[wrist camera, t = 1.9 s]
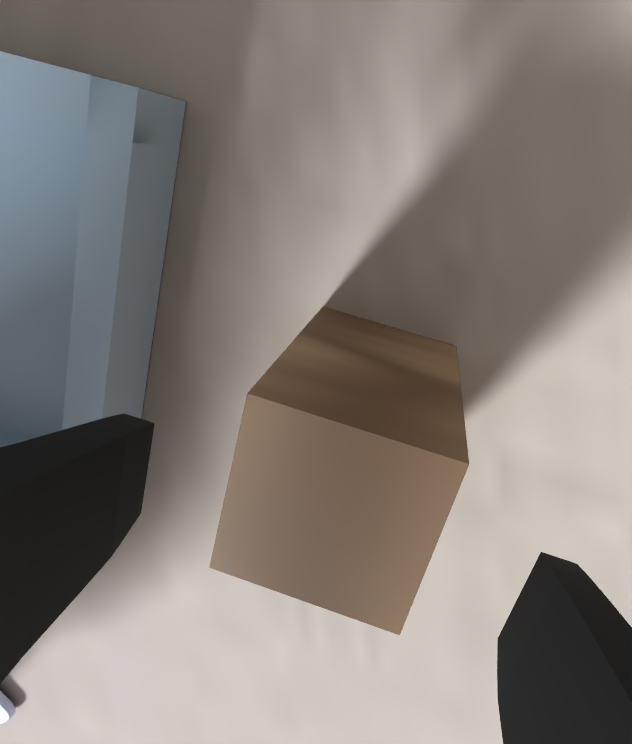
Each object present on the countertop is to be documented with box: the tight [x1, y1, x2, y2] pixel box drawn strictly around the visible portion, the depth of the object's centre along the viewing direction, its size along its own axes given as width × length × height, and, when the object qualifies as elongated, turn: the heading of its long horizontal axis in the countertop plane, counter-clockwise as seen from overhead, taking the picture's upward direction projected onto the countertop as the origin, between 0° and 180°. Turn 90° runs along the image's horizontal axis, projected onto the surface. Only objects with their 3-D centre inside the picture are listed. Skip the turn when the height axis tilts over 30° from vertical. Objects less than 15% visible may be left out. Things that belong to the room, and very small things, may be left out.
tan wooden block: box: [209, 307, 469, 635], centre depth 14 cm, size 4×4×7 cm
